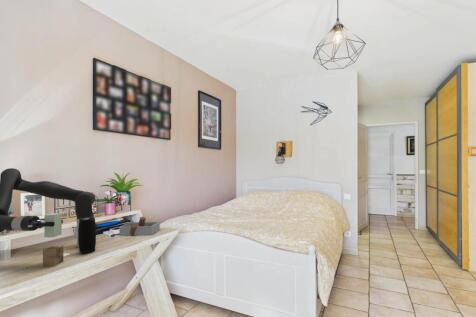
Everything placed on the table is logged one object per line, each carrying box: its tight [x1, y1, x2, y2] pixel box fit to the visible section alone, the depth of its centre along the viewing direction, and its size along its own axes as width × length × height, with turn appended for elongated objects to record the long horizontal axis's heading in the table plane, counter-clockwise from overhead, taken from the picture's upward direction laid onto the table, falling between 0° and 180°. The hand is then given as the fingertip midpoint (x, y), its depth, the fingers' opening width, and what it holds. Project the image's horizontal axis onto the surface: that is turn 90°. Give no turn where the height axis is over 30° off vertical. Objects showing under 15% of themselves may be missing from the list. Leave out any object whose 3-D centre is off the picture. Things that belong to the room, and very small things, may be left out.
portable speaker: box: [78, 216, 97, 255], centre depth 146 cm, size 9×9×20 cm
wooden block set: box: [130, 216, 150, 236], centre depth 187 cm, size 18×9×10 cm, turn 153°
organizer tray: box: [118, 221, 161, 237], centre depth 188 cm, size 16×24×6 cm, turn 88°
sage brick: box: [43, 212, 63, 238], centre depth 129 cm, size 5×5×11 cm
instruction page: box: [40, 252, 72, 260], centre depth 139 cm, size 8×11×1 cm
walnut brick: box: [42, 245, 64, 267], centre depth 128 cm, size 6×6×8 cm
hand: (58, 222), depth 129 cm, fingers closed on sage brick, 5 cm apart
